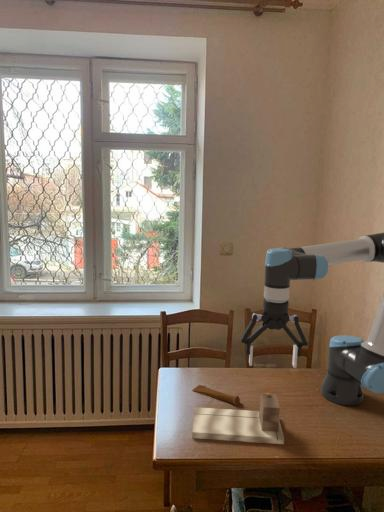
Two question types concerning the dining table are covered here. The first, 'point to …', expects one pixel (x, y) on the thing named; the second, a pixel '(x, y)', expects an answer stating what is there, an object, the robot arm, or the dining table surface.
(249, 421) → the board
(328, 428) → the dining table surface
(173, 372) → the dining table surface
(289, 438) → the dining table surface
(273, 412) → the beige drawer
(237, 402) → the primitive tool
